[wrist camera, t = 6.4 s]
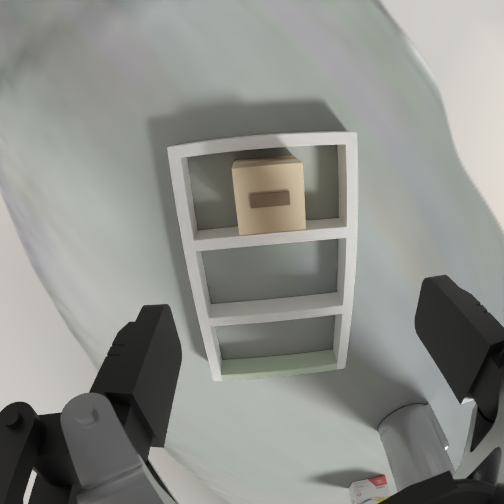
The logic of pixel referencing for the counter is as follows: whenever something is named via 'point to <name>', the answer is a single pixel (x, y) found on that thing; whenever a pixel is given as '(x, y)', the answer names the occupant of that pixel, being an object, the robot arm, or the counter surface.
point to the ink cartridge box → (369, 491)
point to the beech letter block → (269, 194)
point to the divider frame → (230, 238)
